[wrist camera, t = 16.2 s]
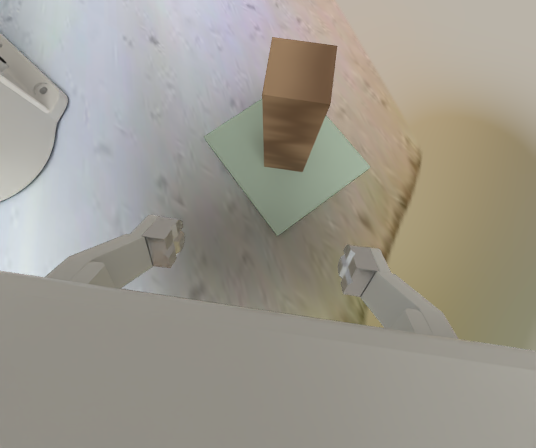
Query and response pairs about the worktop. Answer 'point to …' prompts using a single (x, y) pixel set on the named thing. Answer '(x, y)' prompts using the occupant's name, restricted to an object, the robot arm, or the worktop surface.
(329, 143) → the rubber mat
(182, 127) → the worktop surface
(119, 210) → the worktop surface
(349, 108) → the worktop surface
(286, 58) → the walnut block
